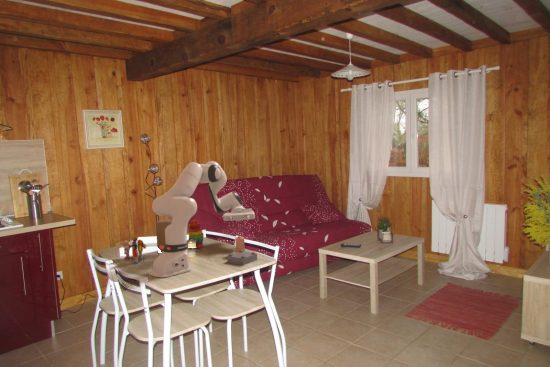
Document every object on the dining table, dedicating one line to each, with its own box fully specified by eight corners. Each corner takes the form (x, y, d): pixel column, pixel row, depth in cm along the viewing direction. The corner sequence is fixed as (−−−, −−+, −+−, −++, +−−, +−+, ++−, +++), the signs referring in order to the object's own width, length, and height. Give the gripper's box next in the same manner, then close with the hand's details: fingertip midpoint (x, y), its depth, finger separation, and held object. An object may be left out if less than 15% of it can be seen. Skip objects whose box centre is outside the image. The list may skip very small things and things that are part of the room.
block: (178, 249, 250) (176, 218, 248) (172, 254, 240) (171, 221, 239) (163, 249, 251) (161, 218, 249) (156, 254, 241) (155, 221, 240)
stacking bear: (187, 245, 261) (186, 219, 259) (203, 244, 263) (202, 218, 262) (188, 249, 251) (186, 221, 249) (204, 248, 253) (203, 220, 251)
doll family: (121, 257, 235) (120, 236, 234) (137, 254, 242) (136, 233, 240) (135, 265, 219) (134, 241, 218) (152, 261, 226) (150, 239, 225)
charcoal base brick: (243, 265, 214) (243, 257, 214) (227, 262, 221) (226, 254, 221) (257, 260, 224) (256, 252, 224) (241, 257, 231) (240, 249, 231)
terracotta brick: (244, 255, 234) (244, 237, 233) (236, 255, 234) (235, 237, 233) (244, 252, 239) (243, 235, 238) (235, 253, 239) (235, 235, 238)
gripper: (222, 210, 258) (222, 215, 244) (253, 208, 261) (255, 213, 247) (222, 219, 259) (223, 225, 245) (253, 217, 262) (255, 223, 248)
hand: (239, 219), depth 246 cm, fingers open, 8 cm apart
